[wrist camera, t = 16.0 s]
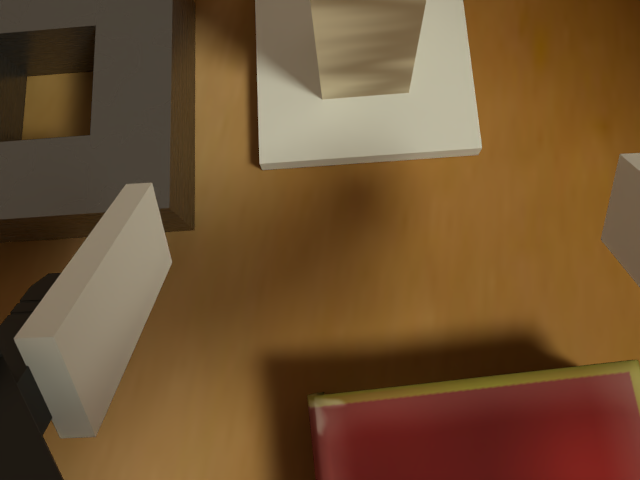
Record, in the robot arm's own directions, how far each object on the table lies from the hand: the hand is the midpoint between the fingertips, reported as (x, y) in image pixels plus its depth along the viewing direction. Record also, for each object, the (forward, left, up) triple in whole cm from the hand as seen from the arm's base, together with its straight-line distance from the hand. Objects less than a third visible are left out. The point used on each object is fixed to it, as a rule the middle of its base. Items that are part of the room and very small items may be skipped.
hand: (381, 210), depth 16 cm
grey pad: (+3, -9, -9) cm, 13 cm away
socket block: (+16, -3, -9) cm, 19 cm away
